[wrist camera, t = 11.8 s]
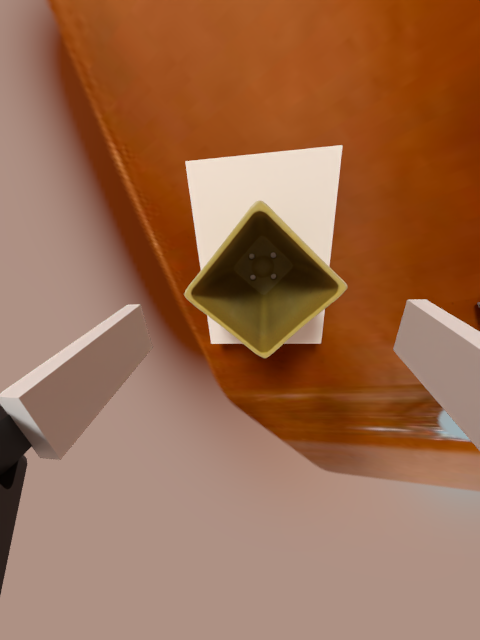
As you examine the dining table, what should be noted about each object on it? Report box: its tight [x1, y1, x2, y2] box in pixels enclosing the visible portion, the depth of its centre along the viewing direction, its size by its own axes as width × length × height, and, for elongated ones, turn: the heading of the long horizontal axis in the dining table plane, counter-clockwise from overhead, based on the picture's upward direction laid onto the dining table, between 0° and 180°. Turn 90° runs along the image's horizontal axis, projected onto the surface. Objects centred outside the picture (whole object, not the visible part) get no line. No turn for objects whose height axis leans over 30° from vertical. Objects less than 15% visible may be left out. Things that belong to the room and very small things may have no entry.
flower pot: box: [184, 201, 347, 358], centre depth 20 cm, size 9×9×9 cm
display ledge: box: [185, 145, 342, 344], centre depth 26 cm, size 14×20×4 cm
